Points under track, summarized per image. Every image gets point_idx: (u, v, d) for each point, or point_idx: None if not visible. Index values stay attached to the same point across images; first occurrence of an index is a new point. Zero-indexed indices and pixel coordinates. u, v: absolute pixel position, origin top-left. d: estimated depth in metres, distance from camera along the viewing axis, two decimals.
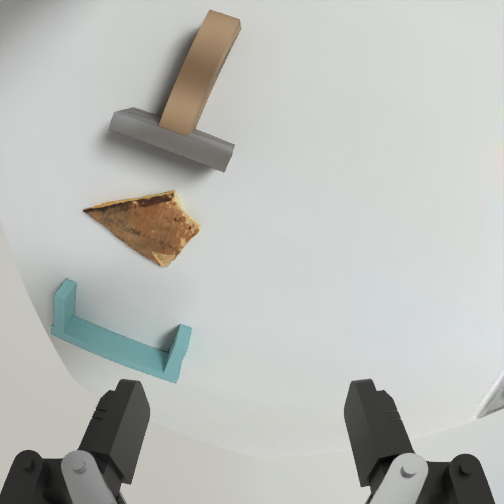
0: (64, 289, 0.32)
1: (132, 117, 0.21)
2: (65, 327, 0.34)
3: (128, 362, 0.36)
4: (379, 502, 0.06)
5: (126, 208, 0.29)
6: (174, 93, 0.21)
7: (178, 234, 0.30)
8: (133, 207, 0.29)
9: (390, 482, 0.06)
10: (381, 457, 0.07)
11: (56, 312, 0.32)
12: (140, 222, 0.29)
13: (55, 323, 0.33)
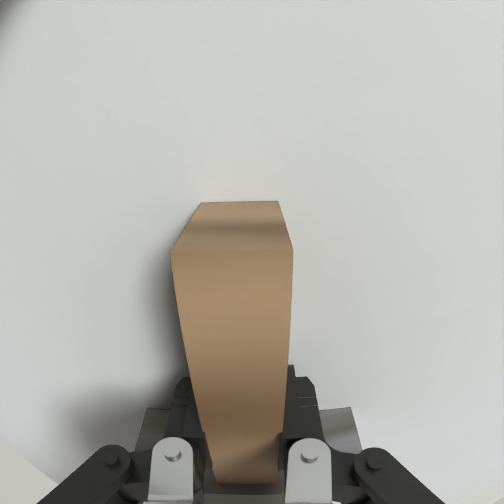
0: None
1: None
2: None
3: None
4: (293, 494, 0.06)
5: None
6: (215, 452, 0.09)
7: None
8: None
9: (295, 472, 0.07)
10: (283, 439, 0.08)
11: None
12: None
13: None
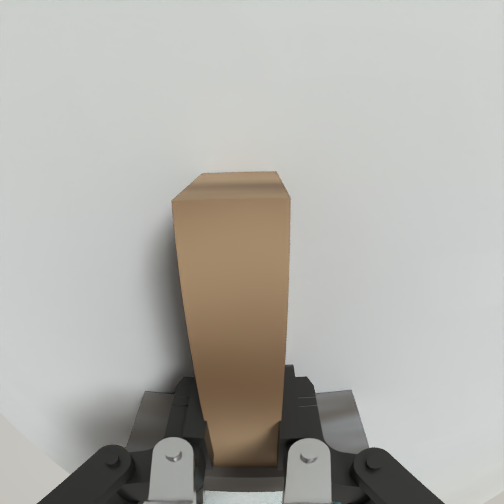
0: None
1: None
2: None
3: None
4: (293, 494, 0.06)
5: None
6: (213, 427, 0.09)
7: None
8: None
9: (295, 472, 0.07)
10: (283, 439, 0.08)
11: None
12: None
13: None
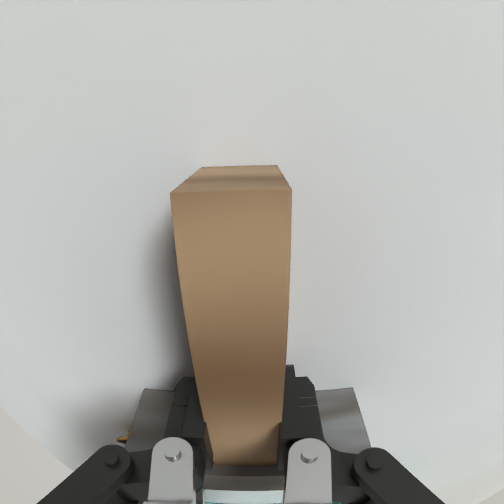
0: None
1: None
2: None
3: None
4: (293, 494, 0.06)
5: None
6: (213, 425, 0.09)
7: None
8: None
9: (295, 472, 0.07)
10: (283, 438, 0.08)
11: None
12: None
13: None
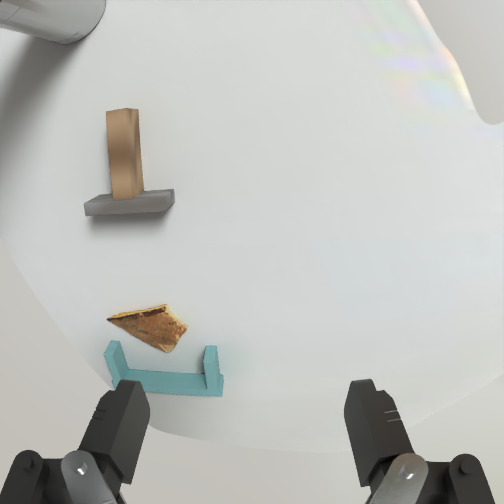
0: (111, 348, 0.43)
1: (96, 202, 0.32)
2: (122, 378, 0.44)
3: (178, 390, 0.44)
4: (379, 502, 0.06)
5: (135, 317, 0.42)
6: (112, 175, 0.31)
7: (173, 332, 0.42)
8: (140, 317, 0.42)
9: (390, 482, 0.06)
10: (381, 457, 0.07)
11: (111, 367, 0.43)
12: (147, 326, 0.42)
13: (113, 377, 0.44)
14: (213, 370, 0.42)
